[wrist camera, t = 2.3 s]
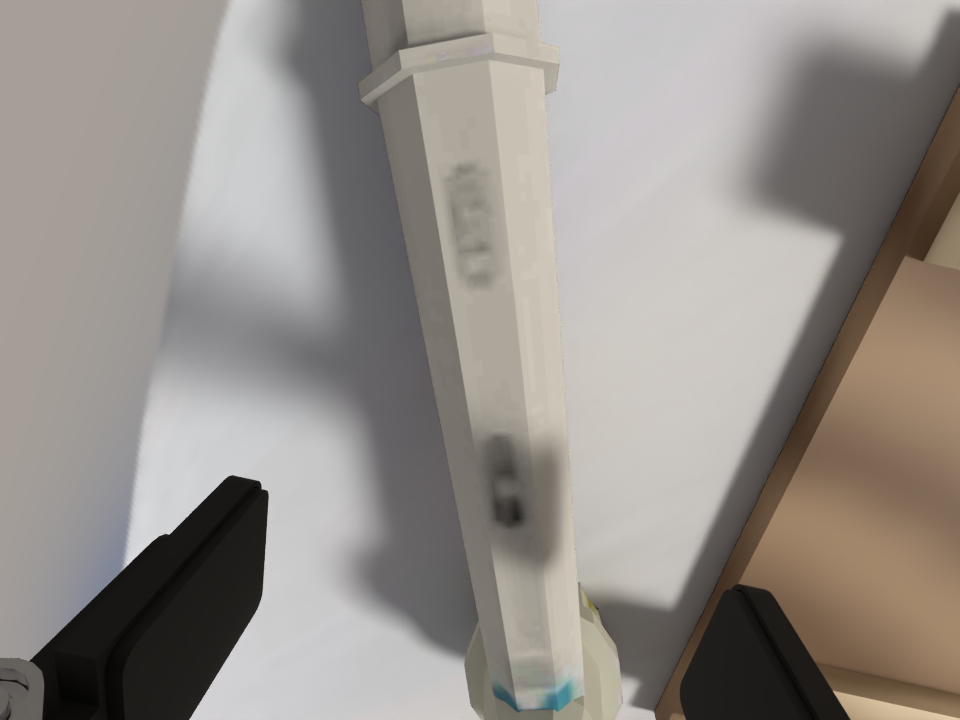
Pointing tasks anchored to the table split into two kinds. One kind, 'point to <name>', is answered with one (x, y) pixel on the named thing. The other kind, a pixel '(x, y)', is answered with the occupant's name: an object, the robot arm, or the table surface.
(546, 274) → the white electric toothbrush
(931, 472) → the v block cradle
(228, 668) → the table surface
